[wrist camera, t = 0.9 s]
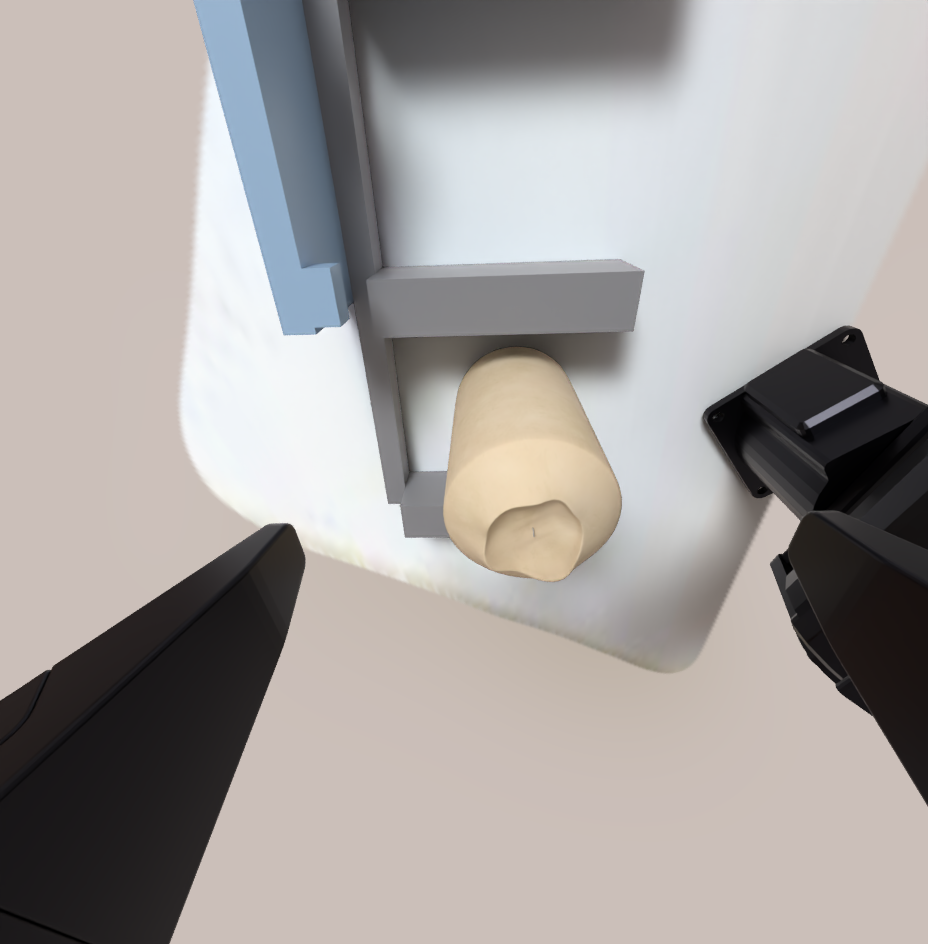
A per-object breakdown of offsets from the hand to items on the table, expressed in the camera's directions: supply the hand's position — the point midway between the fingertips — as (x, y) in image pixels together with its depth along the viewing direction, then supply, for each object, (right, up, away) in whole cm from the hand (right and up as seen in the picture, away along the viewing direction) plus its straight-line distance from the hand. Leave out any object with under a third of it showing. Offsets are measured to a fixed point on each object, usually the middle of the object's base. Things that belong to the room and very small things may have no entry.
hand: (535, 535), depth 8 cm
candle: (+1, +5, +13) cm, 14 cm away
